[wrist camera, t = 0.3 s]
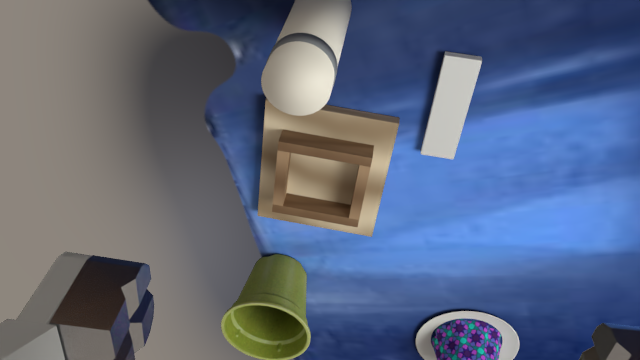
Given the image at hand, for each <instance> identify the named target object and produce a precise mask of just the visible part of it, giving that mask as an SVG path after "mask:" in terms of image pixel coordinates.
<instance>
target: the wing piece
mask: <svg viewBox="0 0 640 360" xmlns="http://www.w3.org/2000/svg"><path fill="white" fill-rule="evenodd" d="M481 63H482V57H480V56H473V55H466V54H459V53H452V52H445V53H444V57H443V62H442V66H441V70H440V74H439V78H438V82H437V86H436V90H435V94H434V98H433V102H432V106H431V110H430V115H429V119H428V123H427V127H426V131H425V135H424V139H423V143H422V147H421V154H423V155H429V156H435V157H441V158H448V159H454V156H455V152H456V149H457V145H458V142H459V138H460V135H461V132H462V128H463V125H464V121H465V118H466V115H467V111H468V108H469V104H470V101H471V97H472V94H473V91H474V87H475V84H476V80H477V77H478V73H479V70H480V67H481Z"/></svg>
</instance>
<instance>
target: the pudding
mask: <svg viewBox="0 0 640 360" xmlns="http://www.w3.org/2000/svg"><path fill="white" fill-rule="evenodd" d="M461 318H471V319H477V320H475V321H471V322H469V321H467V320H464V319H461ZM454 319H457V320H454ZM450 320H454V321H451V323H450V324H449V325H441V324H443V323H445V322H447V321H450ZM478 320H481V321H478ZM483 321H484V322H483ZM485 322H487V323H489V324H491V325H493V326H494V327H495V328H496V329H497V330H498V331H499V332H500V333H501V335H502V339H503V343H502V347H501V343H500V338H501V336H500V333H499V332H498V331H497V330H496V329H491V328H489V326H488V324H487V323H485ZM439 325H441V326H439ZM438 326H439V327H438ZM437 327H438V328H437ZM436 328H437V329H436ZM435 329H436V330H435ZM434 330H435V333H436V336H435V337H433V338H432V344H431V335H432V333H433V331H434ZM519 344H520V343H519V338H518V336H517V333H516V332H515V330H514V329H513V328H512V327H511V326H510V325H509V324H507V323H506V322H505V321H503V320H501V319H499V318H497V317H495V316H492V315H489V314H485V313H481V312H474V311H459V312H451V313H446V314H443V315H440V316H437V317H435V318H433V319H431V320H429V321H428V322H427V323H425V324H424V325H423V326H422V327H421V328H420V330H419V331H418V333H417V336H416V347H417V350H418V352H419V354H420V355H421V356H422V357H423V359H424V360H513V359H514V357H515V356H516V354H517V352H518V350H519ZM432 345H433V346H432ZM500 348H501V349H500Z"/></svg>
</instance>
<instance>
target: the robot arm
mask: <svg viewBox="0 0 640 360" xmlns="http://www.w3.org/2000/svg"><path fill="white" fill-rule="evenodd" d="M150 280H151V275H150V268H149V265H147V264H145V263H139V262H132V261H125V260H119V259H113V258H107V257H100V256H94V255H93V256H90V255H84V254H78V253H71V252H64V253H63V254H61V255H60V256H59V257H58V258H57V259H56V260H55V262H54V264H53V265H52V266H51V268H50V270H49V271H48V273H47V274H46V276H45V277H44V279H43V280H42V282H41V283H40V285H39V286H38V288H37V289H36V291H35V292H34V294H33V295H32V297H31V298H30V300H29V301H28V303H27V304H26V306H25V307H24V309H23V310H22V312H21V313H20V315H19V316H18V318H17V319H16V320H14V319H7V320H5V321H3V322H1V323H0V360H135V356H134V353H135V352H137V351H138V350H140V349H141V348H142V347H144V346H145V344H146V341H147V338H148V336H149V333H150V329H151V325H152V320H153V314H154V301H153V295H152V294H151V293H150V292H149V291H148V290H147V287H148V285H149V282H150ZM592 339H593V342H594V345H595V346H594V347H592V348H590V349H588V350H586V351H584V352H583V353H582V355H581V357H580V359H579V360H640V327H634V326H626V325H618V324H609V323H602V324H601V325H599V326H598V327H597V328H596V329H595V331H594V333H593V335H592Z"/></svg>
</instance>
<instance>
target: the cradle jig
mask: <svg viewBox="0 0 640 360" xmlns="http://www.w3.org/2000/svg"><path fill="white" fill-rule="evenodd" d="M398 126H399V118H398V117H392V116H387V115H381V114H375V113H370V112H364V111H358V110H353V109H347V108H341V107H336V106H330V105H325V106H324V107H323V108H321V109H320V110H319V111H317V112H315V113H313V114H310V115H304V116H296V115H290V114H287V113H284V112H282V111H280V110H279V109H277V108H276V107H274V106H273V105H272V104H271V103H270V102H269V101H268V99H267V98H266V102H265V116H264V131H263V145H262V159H261V174H260V188H259V203H258V216H262V217H267V218H273V219H278V220H284V221H289V222H295V223H300V224H305V225H311V226H316V227H322V228H327V229H333V230H338V231H344V232H349V233H354V234H360V235H365V236H371V237H372V234H373V229H374V225H375V221H376V217H377V213H378V209H379V205H380V200H381V196H382V192H383V188H384V184H385V180H386V176H387V172H388V167H389V163H390V159H391V155H392V151H393V147H394V143H395V138H396V134H397V130H398Z"/></svg>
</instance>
